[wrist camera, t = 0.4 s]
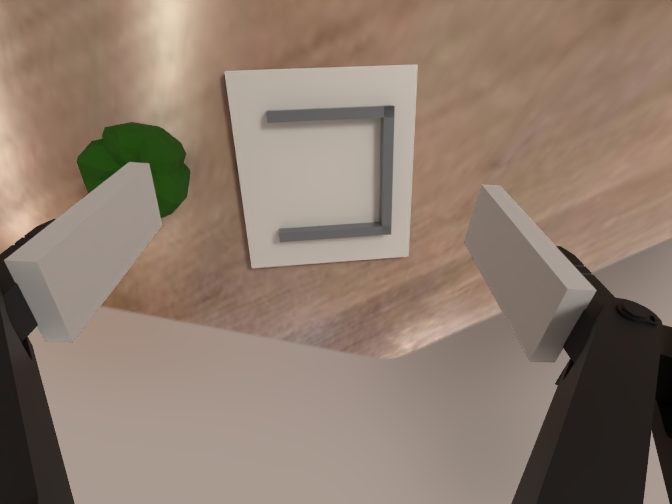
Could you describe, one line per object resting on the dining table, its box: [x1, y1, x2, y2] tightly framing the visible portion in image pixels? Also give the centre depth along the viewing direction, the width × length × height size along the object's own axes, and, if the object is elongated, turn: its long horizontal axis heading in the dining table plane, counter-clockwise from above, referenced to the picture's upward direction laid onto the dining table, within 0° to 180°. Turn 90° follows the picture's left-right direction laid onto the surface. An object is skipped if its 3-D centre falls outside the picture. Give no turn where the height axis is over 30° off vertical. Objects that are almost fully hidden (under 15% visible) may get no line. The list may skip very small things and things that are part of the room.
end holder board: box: [224, 65, 418, 268], centre depth 39 cm, size 20×18×3 cm
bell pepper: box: [77, 122, 190, 218], centre depth 33 cm, size 8×8×10 cm
